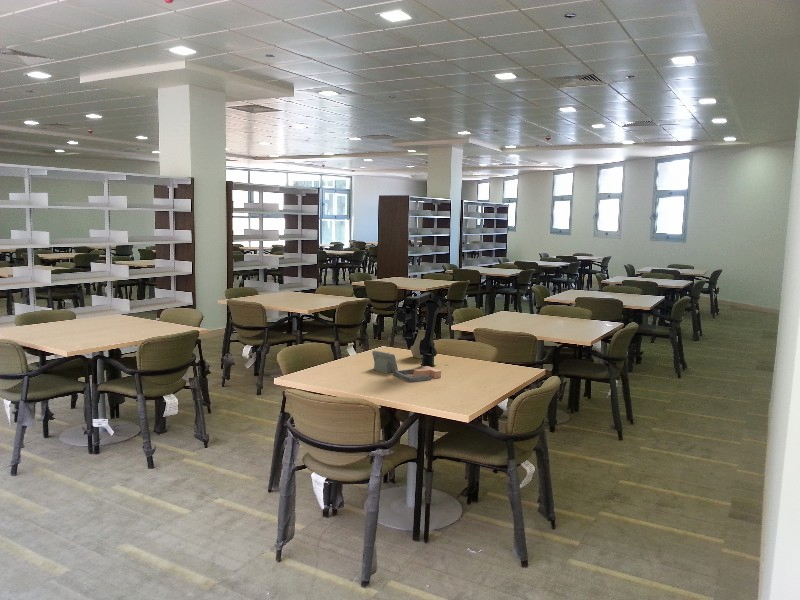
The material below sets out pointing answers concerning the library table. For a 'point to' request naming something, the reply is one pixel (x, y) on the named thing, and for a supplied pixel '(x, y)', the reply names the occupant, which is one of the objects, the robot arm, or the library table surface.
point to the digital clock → (384, 361)
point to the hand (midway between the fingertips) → (410, 347)
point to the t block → (427, 372)
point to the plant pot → (417, 344)
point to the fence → (410, 379)
